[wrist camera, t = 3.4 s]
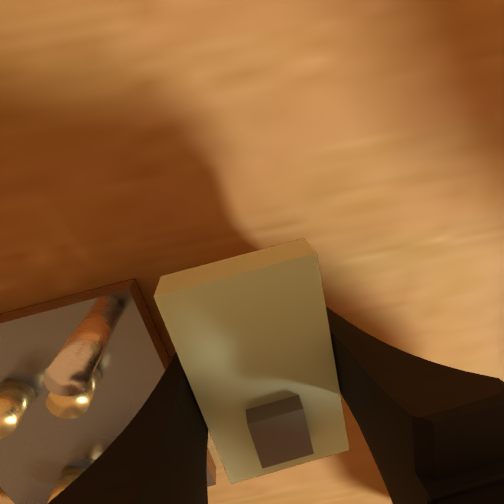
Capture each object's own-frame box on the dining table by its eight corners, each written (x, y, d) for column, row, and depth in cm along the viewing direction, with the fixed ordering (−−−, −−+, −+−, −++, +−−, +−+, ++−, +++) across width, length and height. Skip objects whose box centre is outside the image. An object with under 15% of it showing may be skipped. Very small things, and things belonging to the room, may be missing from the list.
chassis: (215, 466, 18) (217, 579, 14) (50, 513, 18) (-5, 645, 13) (134, 278, 13) (93, 354, 9) (-94, 339, 13) (-262, 451, 8)
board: (336, 420, 14) (355, 464, 12) (229, 451, 14) (232, 500, 12) (303, 238, 10) (323, 260, 9) (160, 276, 10) (149, 307, 8)
